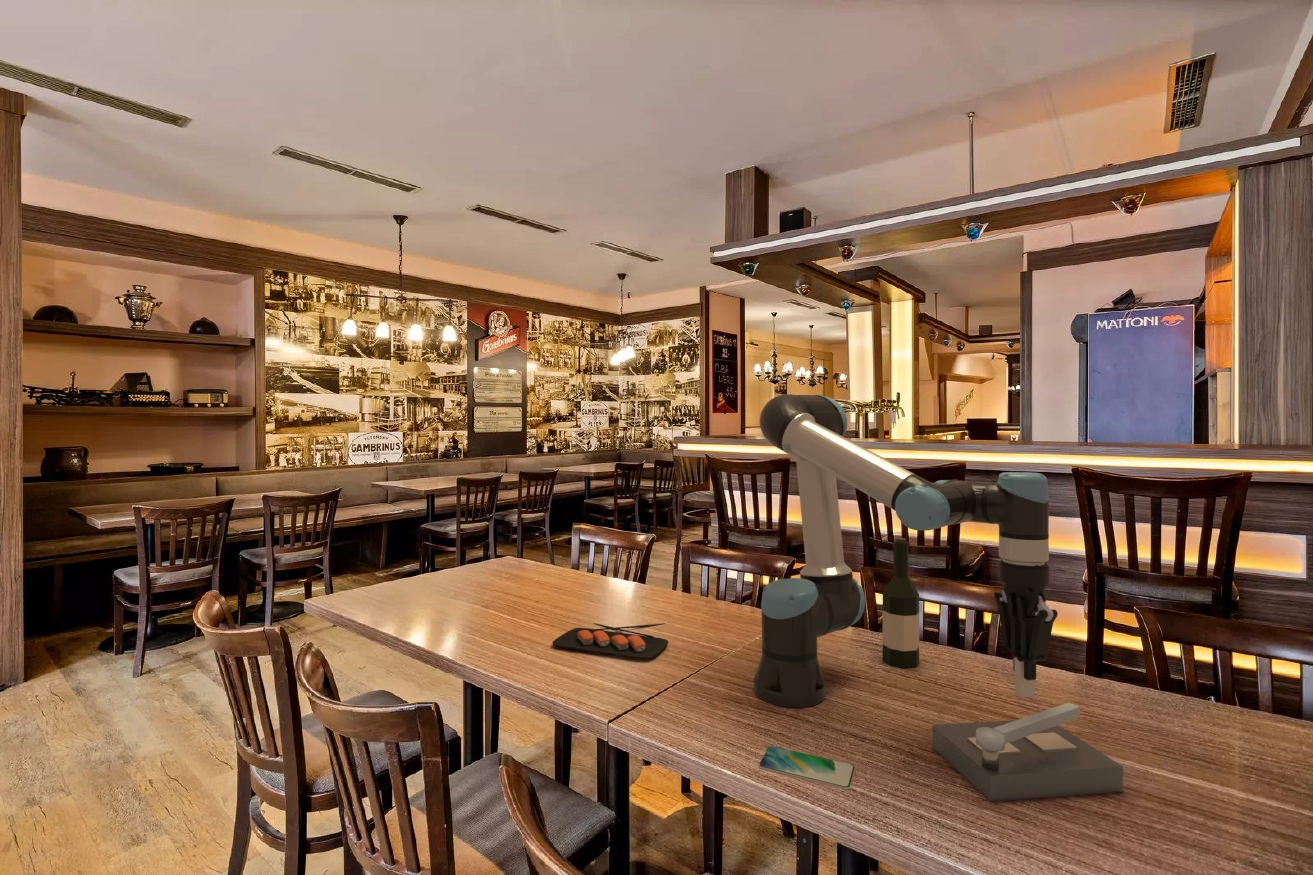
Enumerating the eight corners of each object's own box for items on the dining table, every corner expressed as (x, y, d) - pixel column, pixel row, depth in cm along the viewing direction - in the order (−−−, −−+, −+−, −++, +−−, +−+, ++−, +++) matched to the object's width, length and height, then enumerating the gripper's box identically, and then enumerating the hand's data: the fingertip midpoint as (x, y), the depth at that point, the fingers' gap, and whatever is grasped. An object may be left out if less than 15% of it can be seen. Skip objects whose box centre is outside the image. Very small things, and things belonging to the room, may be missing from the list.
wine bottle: (922, 670, 144) (923, 542, 143) (885, 667, 145) (885, 541, 145) (915, 657, 152) (915, 536, 151) (879, 654, 154) (880, 535, 153)
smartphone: (850, 788, 97) (757, 766, 103) (850, 794, 97) (757, 771, 103) (856, 764, 103) (768, 744, 110) (856, 769, 103) (768, 749, 110)
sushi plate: (547, 650, 159) (547, 636, 159) (600, 617, 187) (600, 604, 187) (651, 666, 148) (651, 651, 148) (691, 628, 176) (691, 615, 176)
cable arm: (993, 753, 94) (993, 742, 94) (970, 741, 98) (970, 730, 98) (1086, 720, 104) (1086, 709, 104) (1062, 710, 108) (1062, 700, 108)
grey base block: (990, 801, 94) (990, 757, 93) (932, 747, 109) (932, 709, 109) (1122, 791, 96) (1123, 748, 96) (1047, 739, 112) (1047, 702, 112)
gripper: (1072, 568, 101) (1073, 710, 102) (1018, 553, 114) (1019, 679, 115) (1030, 570, 101) (1031, 713, 101) (980, 554, 114) (981, 681, 114)
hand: (1024, 695), depth 108 cm, fingers closed
